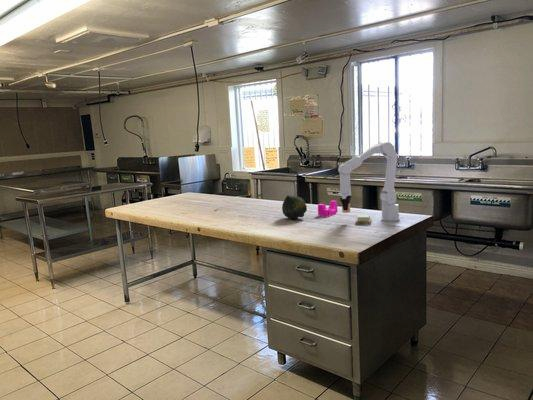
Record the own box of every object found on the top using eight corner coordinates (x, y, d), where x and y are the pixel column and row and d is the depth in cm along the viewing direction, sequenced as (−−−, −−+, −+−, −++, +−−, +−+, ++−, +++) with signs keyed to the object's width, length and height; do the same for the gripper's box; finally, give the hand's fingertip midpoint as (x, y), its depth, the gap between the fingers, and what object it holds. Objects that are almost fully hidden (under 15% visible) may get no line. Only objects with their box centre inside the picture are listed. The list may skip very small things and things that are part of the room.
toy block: (326, 217, 255) (325, 205, 254) (318, 216, 259) (317, 204, 258) (340, 212, 265) (340, 201, 264) (332, 211, 270) (332, 200, 268)
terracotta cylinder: (350, 211, 237) (350, 203, 237) (349, 212, 233) (349, 204, 233) (342, 211, 239) (342, 203, 238) (341, 212, 235) (341, 204, 234)
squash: (296, 222, 246) (295, 197, 243) (277, 219, 256) (276, 195, 253) (311, 217, 256) (310, 193, 253) (293, 215, 266) (291, 192, 263)
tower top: (369, 218, 236) (369, 214, 235) (368, 221, 230) (368, 217, 230) (358, 218, 238) (358, 214, 237) (357, 221, 232) (357, 217, 232)
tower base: (371, 222, 237) (371, 218, 236) (370, 225, 229) (370, 221, 229) (357, 222, 239) (357, 218, 239) (355, 225, 232) (355, 221, 231)
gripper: (339, 183, 242) (340, 206, 244) (336, 187, 228) (337, 212, 230) (352, 183, 239) (353, 206, 242) (349, 187, 226) (350, 211, 228)
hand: (346, 209), depth 236 cm, fingers closed on terracotta cylinder, 4 cm apart
